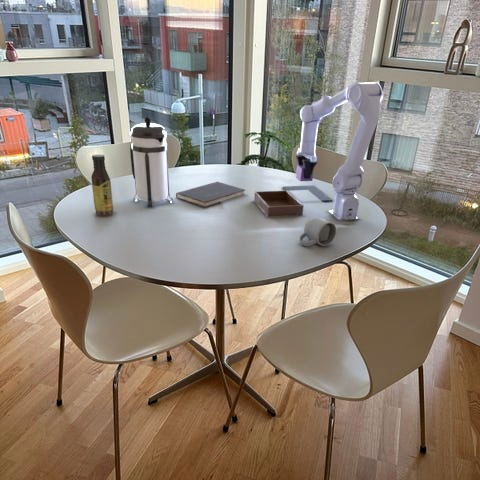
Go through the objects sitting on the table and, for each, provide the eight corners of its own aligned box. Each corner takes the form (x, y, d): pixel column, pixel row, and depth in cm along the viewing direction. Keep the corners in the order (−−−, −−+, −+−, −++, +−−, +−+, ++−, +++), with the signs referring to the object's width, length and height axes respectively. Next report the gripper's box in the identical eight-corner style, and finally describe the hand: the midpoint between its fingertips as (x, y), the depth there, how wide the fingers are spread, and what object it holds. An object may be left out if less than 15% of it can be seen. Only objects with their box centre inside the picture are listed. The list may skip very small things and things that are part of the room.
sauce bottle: (109, 217, 160) (102, 158, 149) (92, 215, 161) (84, 157, 150) (117, 211, 165) (110, 154, 155) (100, 209, 166) (93, 152, 156)
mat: (332, 201, 184) (332, 199, 184) (299, 202, 181) (299, 201, 181) (313, 186, 201) (313, 185, 200) (282, 187, 198) (283, 186, 197)
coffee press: (177, 196, 183) (174, 114, 167) (168, 209, 169) (163, 121, 153) (134, 193, 184) (127, 111, 168) (121, 206, 170) (112, 118, 154)
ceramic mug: (318, 235, 153) (321, 212, 149) (335, 243, 147) (338, 220, 143) (293, 241, 148) (295, 218, 144) (309, 250, 142) (312, 227, 138)
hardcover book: (244, 195, 187) (245, 189, 186) (204, 208, 172) (204, 202, 171) (216, 186, 195) (216, 181, 194) (175, 198, 180) (175, 192, 179)
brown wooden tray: (302, 216, 168) (303, 205, 166) (267, 218, 165) (268, 207, 163) (286, 200, 183) (287, 190, 181) (254, 202, 180) (254, 191, 178)
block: (312, 180, 180) (313, 167, 177) (300, 181, 179) (301, 168, 176) (307, 177, 184) (309, 164, 181) (295, 177, 183) (297, 165, 180)
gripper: (291, 136, 178) (288, 171, 186) (305, 144, 167) (301, 182, 174) (308, 136, 180) (305, 171, 187) (323, 144, 168) (318, 181, 176)
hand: (304, 176), depth 181 cm, fingers closed on block, 5 cm apart
